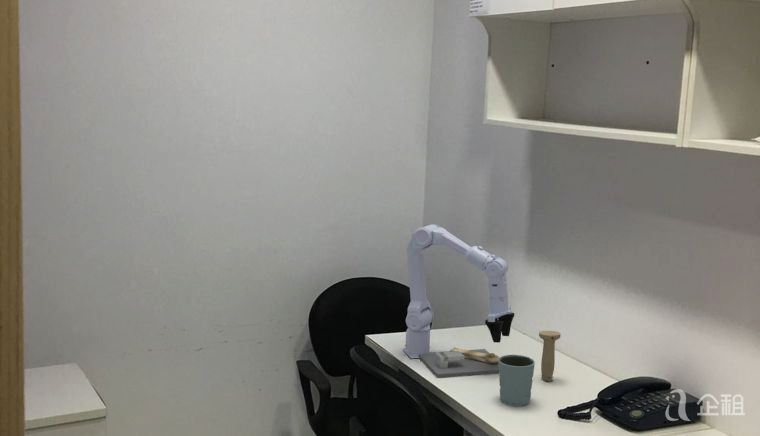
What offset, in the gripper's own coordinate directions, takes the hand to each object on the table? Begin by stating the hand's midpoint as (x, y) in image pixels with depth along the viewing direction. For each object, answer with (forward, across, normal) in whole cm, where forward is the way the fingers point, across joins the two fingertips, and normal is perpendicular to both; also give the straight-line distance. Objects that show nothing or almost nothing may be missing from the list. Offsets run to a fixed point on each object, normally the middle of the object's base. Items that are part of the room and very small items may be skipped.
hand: (501, 339), depth 237 cm
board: (+9, -2, +13) cm, 16 cm away
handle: (+12, 0, -14) cm, 19 cm away
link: (+8, +2, +11) cm, 13 cm away
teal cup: (+12, -21, -11) cm, 27 cm away
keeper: (+7, -8, +15) cm, 18 cm away
